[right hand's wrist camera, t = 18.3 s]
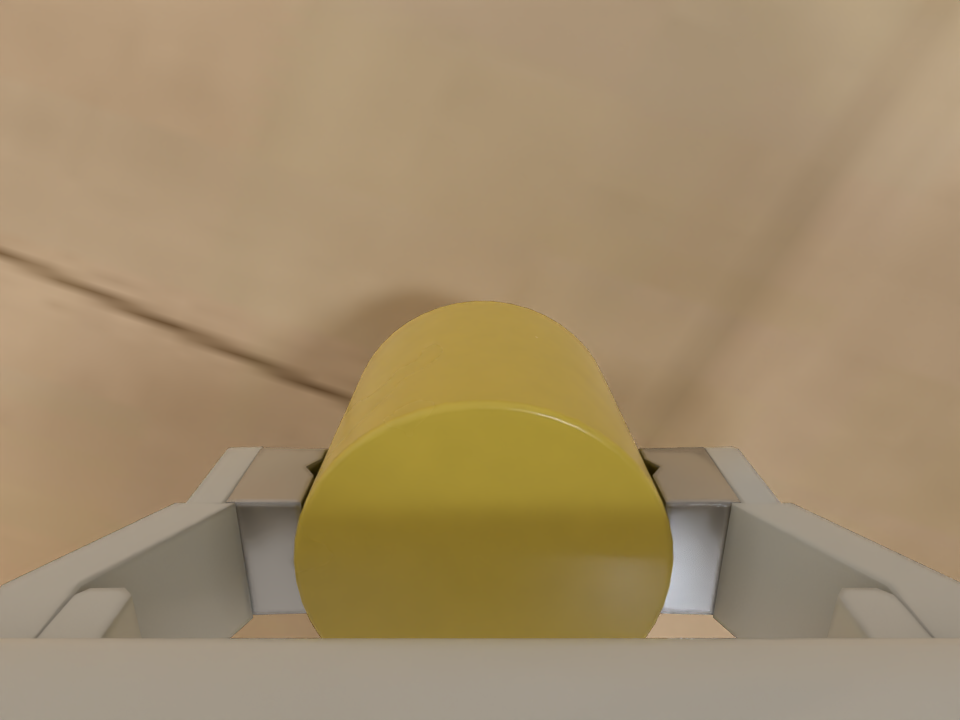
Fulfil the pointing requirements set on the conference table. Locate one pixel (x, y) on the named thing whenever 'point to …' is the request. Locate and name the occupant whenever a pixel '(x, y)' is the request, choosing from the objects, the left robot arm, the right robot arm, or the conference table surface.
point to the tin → (483, 492)
